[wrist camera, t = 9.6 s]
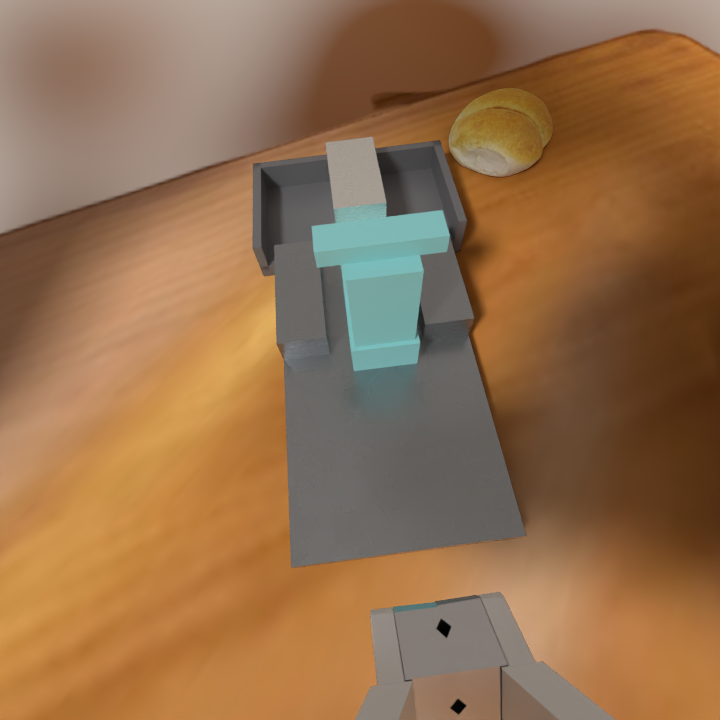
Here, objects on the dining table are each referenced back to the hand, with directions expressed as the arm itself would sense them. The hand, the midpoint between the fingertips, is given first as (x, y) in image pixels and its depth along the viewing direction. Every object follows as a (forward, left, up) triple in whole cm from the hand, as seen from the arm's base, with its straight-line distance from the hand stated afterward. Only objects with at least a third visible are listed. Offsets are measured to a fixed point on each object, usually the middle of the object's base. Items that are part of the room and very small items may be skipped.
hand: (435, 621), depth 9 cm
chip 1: (+1, +28, -12) cm, 30 cm away
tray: (0, +27, -13) cm, 29 cm away
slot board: (0, +12, -13) cm, 18 cm away
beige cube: (+1, +24, -12) cm, 27 cm away
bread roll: (+14, +34, -13) cm, 39 cm away
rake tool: (+1, +18, -12) cm, 21 cm away
